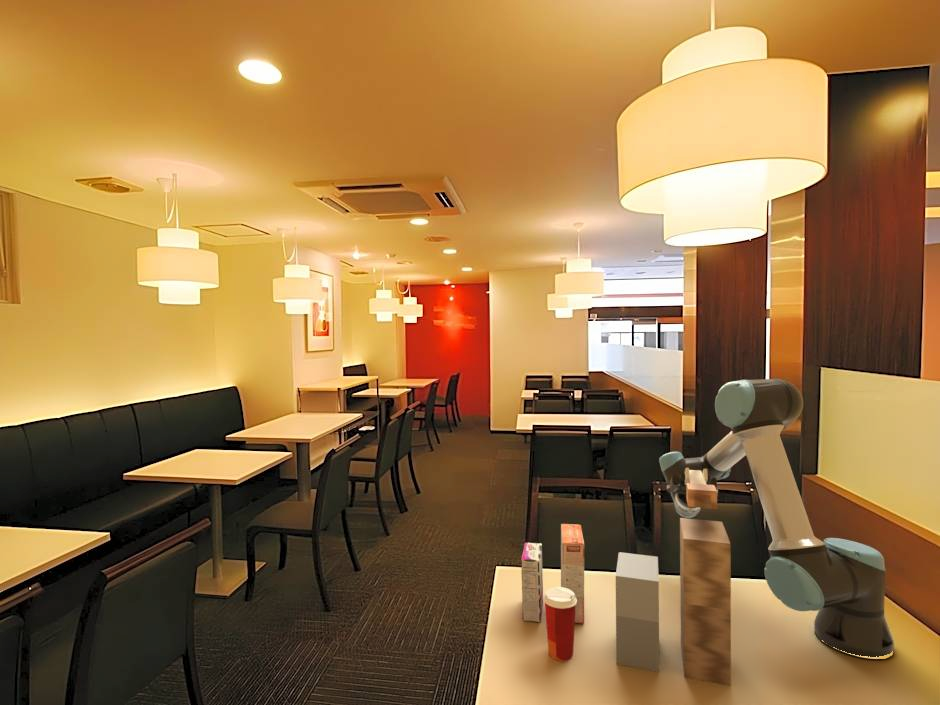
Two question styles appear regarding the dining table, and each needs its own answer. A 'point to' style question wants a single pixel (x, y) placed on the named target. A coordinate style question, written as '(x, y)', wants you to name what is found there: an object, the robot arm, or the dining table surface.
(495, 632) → the dining table surface
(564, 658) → the paper cup
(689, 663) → the tall tower
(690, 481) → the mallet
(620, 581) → the short tower
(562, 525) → the cracker box
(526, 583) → the candy bar box
